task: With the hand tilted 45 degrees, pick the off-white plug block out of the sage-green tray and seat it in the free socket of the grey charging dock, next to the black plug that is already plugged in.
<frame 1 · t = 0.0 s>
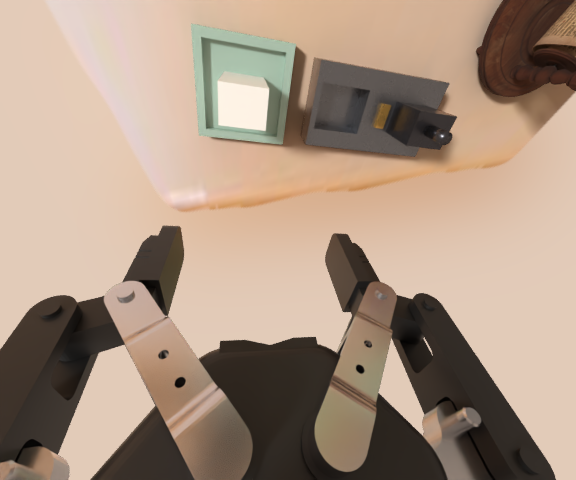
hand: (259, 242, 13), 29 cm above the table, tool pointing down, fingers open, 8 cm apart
turned wooden stand: (525, 32, 34), on the table
grey charging dock: (364, 108, 37), on the table
plug: (243, 91, 33), point 1 cm above the table, touching tray
tray: (243, 90, 34), on the table
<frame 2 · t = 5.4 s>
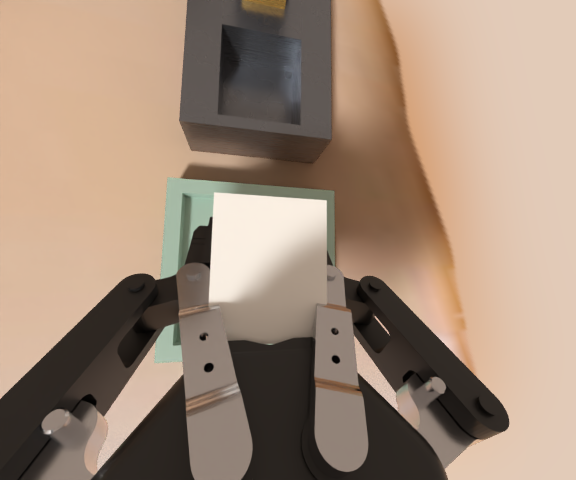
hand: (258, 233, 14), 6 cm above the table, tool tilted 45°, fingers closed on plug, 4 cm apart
grey charging dock: (258, 57, 21), on the table
plug: (253, 267, 18), point 1 cm above the table, touching gripper, tray
tray: (252, 267, 19), on the table
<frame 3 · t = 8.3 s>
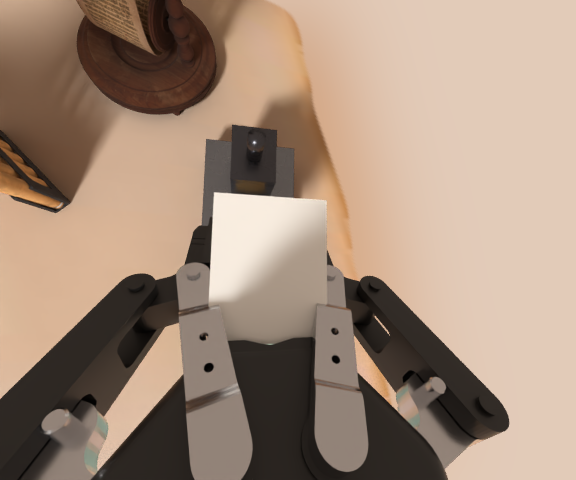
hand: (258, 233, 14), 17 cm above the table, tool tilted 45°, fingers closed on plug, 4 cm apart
turned wooden stand: (157, 67, 31), on the table
grey charging dock: (247, 226, 31), on the table
ammunition clip: (30, 172, 27), on the table
plug: (253, 267, 18), point 13 cm above the table, touching gripper
when the fingers open (6 cm above the table, at t = 11.1 s): plug stays where it is, resting on grey charging dock.
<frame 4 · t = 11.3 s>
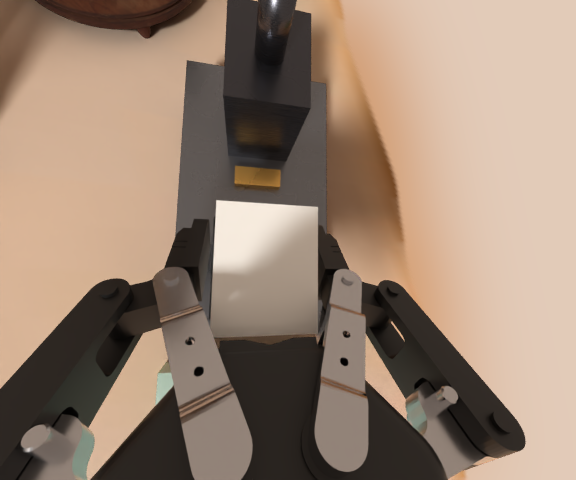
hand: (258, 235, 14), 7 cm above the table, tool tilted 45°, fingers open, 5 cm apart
grey charging dock: (253, 207, 21), on the table
plug: (252, 267, 19), point 1 cm above the table, touching grey charging dock
tray: (246, 440, 19), on the table
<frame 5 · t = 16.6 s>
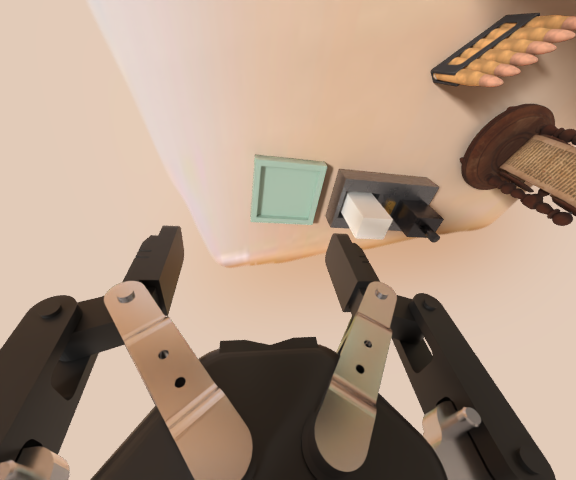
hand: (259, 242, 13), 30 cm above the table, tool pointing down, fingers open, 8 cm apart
turned wooden stand: (496, 146, 45), on the table
grey charging dock: (374, 197, 49), on the table
ammunition clip: (467, 50, 35), on the table
plug: (352, 198, 47), point 1 cm above the table, touching grey charging dock
tray: (285, 190, 45), on the table
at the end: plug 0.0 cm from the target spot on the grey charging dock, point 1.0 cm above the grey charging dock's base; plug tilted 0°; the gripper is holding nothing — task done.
